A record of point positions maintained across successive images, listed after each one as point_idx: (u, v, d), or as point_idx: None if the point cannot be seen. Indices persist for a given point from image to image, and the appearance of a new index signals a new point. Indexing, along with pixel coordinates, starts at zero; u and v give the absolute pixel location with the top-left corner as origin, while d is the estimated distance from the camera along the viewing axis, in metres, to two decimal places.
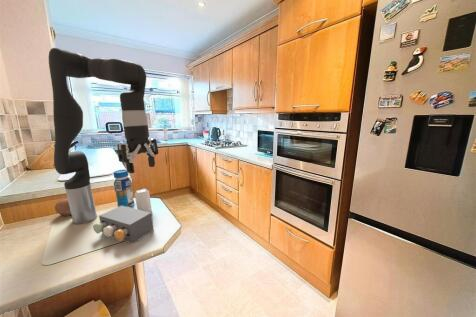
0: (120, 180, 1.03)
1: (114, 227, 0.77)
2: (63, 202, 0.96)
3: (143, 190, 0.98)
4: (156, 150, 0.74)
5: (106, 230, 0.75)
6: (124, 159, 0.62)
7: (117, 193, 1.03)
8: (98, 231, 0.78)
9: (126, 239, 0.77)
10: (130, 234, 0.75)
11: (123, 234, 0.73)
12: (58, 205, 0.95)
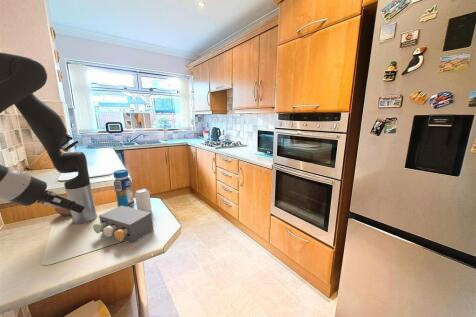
0: (120, 180, 1.03)
1: (114, 227, 0.77)
2: None
3: (143, 190, 0.98)
4: (65, 208, 0.57)
5: (106, 230, 0.75)
6: None
7: (117, 193, 1.03)
8: (98, 231, 0.78)
9: (126, 239, 0.77)
10: (130, 234, 0.75)
11: (123, 234, 0.73)
12: None
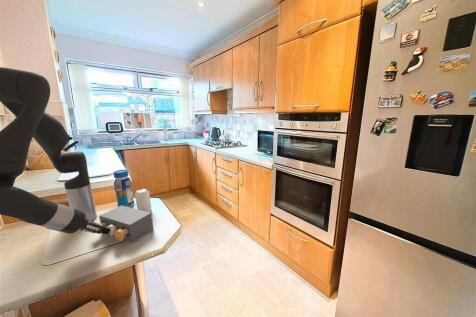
0: (120, 180, 1.03)
1: None
2: (63, 202, 0.96)
3: (143, 190, 0.98)
4: None
5: (109, 228, 0.76)
6: None
7: (117, 193, 1.03)
8: None
9: (126, 239, 0.77)
10: (130, 234, 0.75)
11: (123, 234, 0.73)
12: None
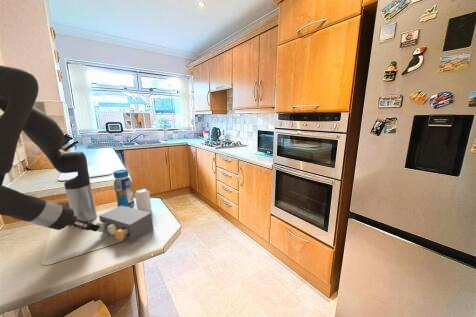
0: (120, 180, 1.03)
1: None
2: (63, 202, 0.96)
3: (143, 190, 0.98)
4: (86, 229, 0.72)
5: (110, 228, 0.76)
6: None
7: (117, 193, 1.03)
8: (100, 230, 0.78)
9: (126, 239, 0.77)
10: (130, 234, 0.75)
11: (123, 234, 0.73)
12: None
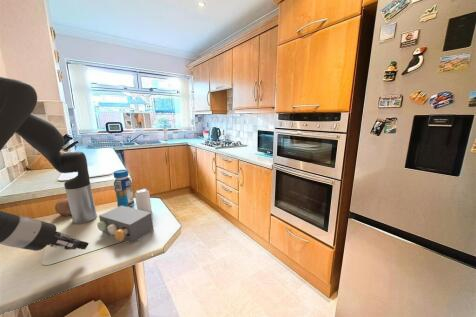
0: (120, 180, 1.03)
1: None
2: (63, 202, 0.96)
3: (143, 190, 0.98)
4: None
5: (110, 228, 0.76)
6: None
7: (117, 193, 1.03)
8: (102, 229, 0.79)
9: (126, 239, 0.77)
10: (130, 234, 0.75)
11: (123, 234, 0.73)
12: (58, 205, 0.95)
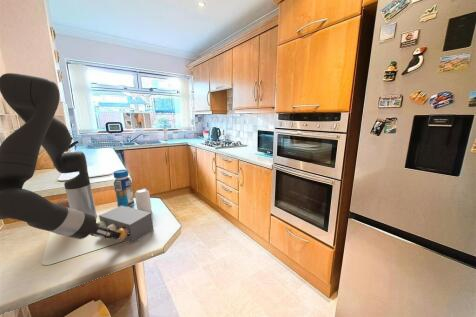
0: (120, 180, 1.03)
1: None
2: (63, 202, 0.96)
3: (143, 190, 0.98)
4: (108, 237, 0.66)
5: (110, 228, 0.76)
6: None
7: (117, 193, 1.03)
8: None
9: (126, 239, 0.77)
10: (130, 234, 0.75)
11: (125, 233, 0.73)
12: None
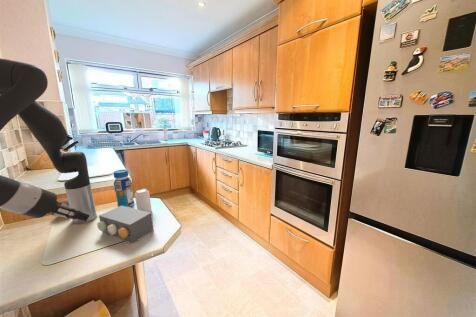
0: (120, 180, 1.03)
1: None
2: (63, 202, 0.96)
3: (143, 190, 0.98)
4: None
5: (110, 228, 0.76)
6: None
7: (117, 193, 1.03)
8: (102, 229, 0.79)
9: (126, 239, 0.77)
10: (130, 234, 0.75)
11: (127, 232, 0.74)
12: None
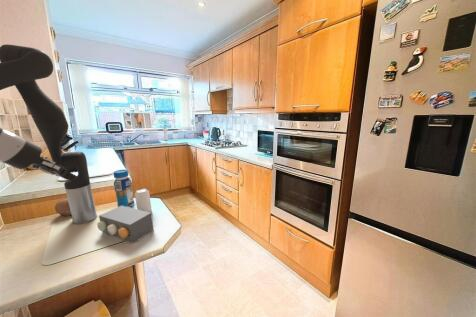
0: (120, 180, 1.03)
1: None
2: (63, 202, 0.96)
3: (143, 190, 0.98)
4: (58, 174, 0.60)
5: (110, 228, 0.76)
6: (50, 173, 0.63)
7: (117, 193, 1.03)
8: (102, 229, 0.79)
9: (126, 239, 0.77)
10: (130, 234, 0.75)
11: (127, 232, 0.74)
12: (58, 205, 0.95)
